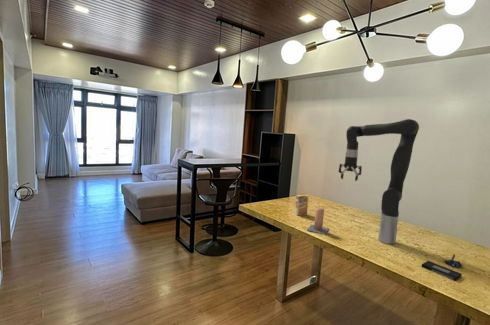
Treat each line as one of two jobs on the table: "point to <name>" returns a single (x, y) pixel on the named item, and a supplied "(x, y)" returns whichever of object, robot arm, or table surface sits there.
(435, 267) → the vhs tape
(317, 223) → the terracotta canister
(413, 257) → the table surface
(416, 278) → the table surface
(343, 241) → the table surface
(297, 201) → the candy box
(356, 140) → the robot arm
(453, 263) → the dark blue compact piece
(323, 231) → the rubber mat
